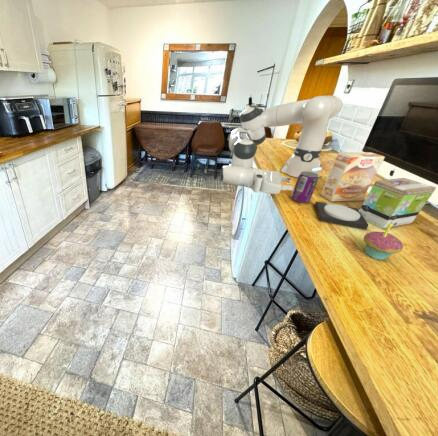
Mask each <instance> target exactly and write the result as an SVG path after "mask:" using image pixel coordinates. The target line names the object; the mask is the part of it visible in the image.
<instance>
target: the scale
mask: <svg viewBox="0 0 438 436" xmlns="http://www.w3.org/2000/svg"><path fill="white" fill-rule="evenodd" d="M313 206H314V209H315V212H316V215H317V218H318V221H319V222H324V223H328V224H332V225H333V224H334V225H340V226H344V227H349V228H353V229H354V228H355V229H360V230H365V231H366V230H367V229H368V227H369V222H368V221H366V220H365V219H364V217H363V216H362V214H361V213H360V212H359V210H360V209H358V208H357V207H353V206H352V207H351V206H348V205H344V204H338V203H333V202H323V201H315V203H314V205H313Z"/></svg>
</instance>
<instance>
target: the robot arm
mask: <svg viewBox="0 0 438 436" xmlns="http://www.w3.org/2000/svg"><path fill="white" fill-rule="evenodd" d="M342 108H343V101H342V99H341V98H339V97H338V96H336V95H317V96H314V97H312V98H308V99H302V100H296V101H292V102H288V103H282V104H278V105H274V106H271V107H268V108H266V109H263V108H260V107H257V106H250V107H248V108H245V109H244V110H242V111H241V113H240V114H239V121H240V125H241V127H237V128H235V129H233V130H232V131H231V132H230V135H229V139H228V149H229V151H230V152H231V153H232V157H231V162H230V163H229V165H223V166H222V167H221V169H220V182H222V183H224V184H226V185H231V186H235V187H245V188H248V189H251V190H252V191H253V192H254V193H256V194H259V193H264V194H271V195H278V194H279V195H280V193H281V191H293V190H294V184H293V185H292V184H291V183H292V180H293V179H292V177H293V178H298V176H299V175H300V174H301V172H303V171H307V172H313V173H316V174H318V178H320V177H321V176H320V175H321V174H319V173H318V172H319V171H321V170H322V167H321V162H322V161H321V160H320V157H321V155H322V148H323V146H324V143H325V140H326V138H327V134H328V133H327V129H328V123H329V120H330V119H332V118H334V117H336V116H337V115H339V113H340V112H341V111H342ZM298 124H302V125H301V132H300V136H299V138H298V142H297V145H296V147H295V149H294V150H293V154H292V155H291V156H290V157H289V158H286V161H285V163H286V164H285V165H284V166H283V167H282V168H281V170H280V171H277V170H268V169H265V170H264V169H262V168H254V167H253V165H254V160H255V155H256V153H257V150H258V146H259V145H262V144H263V143H264V142H265V141H266V138H267V133H266V130H265V127H270V128H271V127H272V128H273V127H274V128H275V127H285V126H291V125H292V126H293V125H298ZM281 173H282V174H286V175H288V176H290V177H287V176H284V175H281ZM282 182H286V183H288V184H284V183H282Z"/></svg>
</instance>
